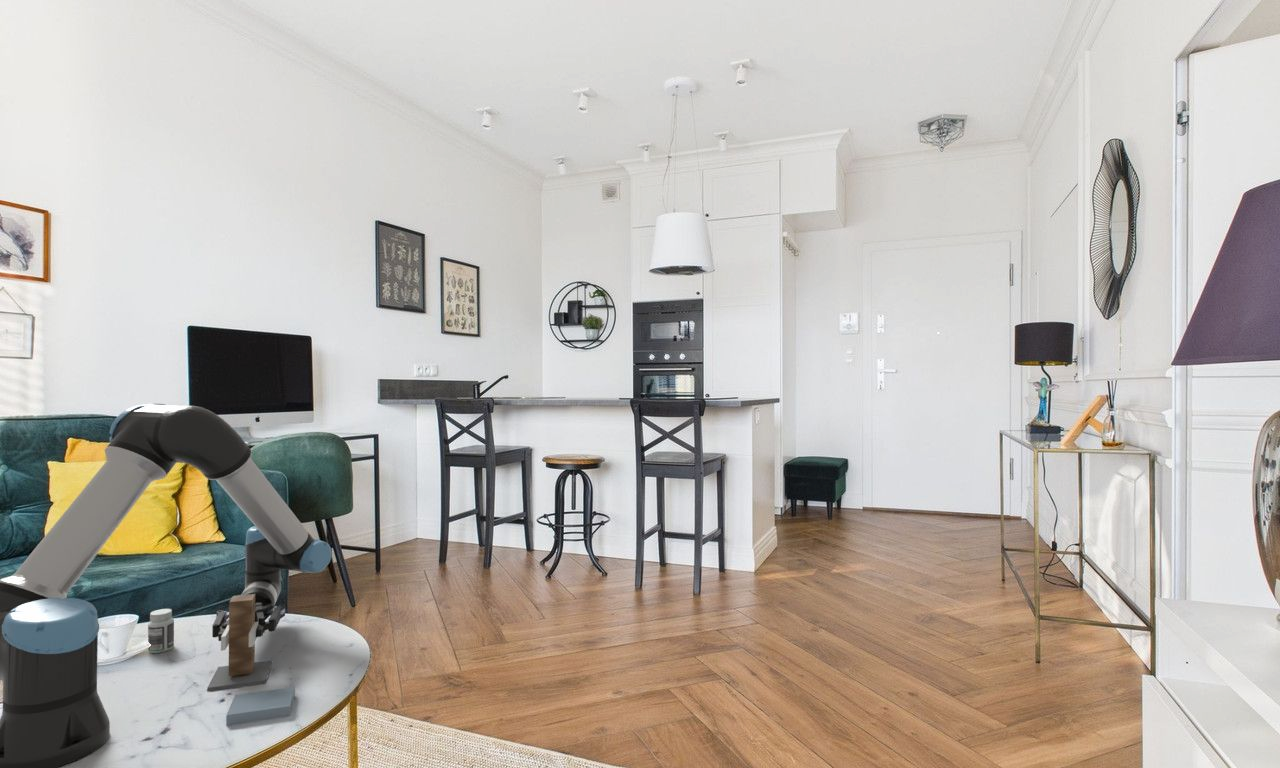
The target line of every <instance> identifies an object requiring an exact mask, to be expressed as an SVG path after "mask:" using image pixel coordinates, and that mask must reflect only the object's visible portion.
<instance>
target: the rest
mask: <svg viewBox="0 0 1280 768" xmlns="http://www.w3.org/2000/svg"><path fill="white" fill-rule="evenodd" d="M271 665H273V660H272V659H270V660H264V661H255V665H254V668H253V670H252V673H250V674H242V675H235V676H229V665H222V666H218V667H217V669H216V671H214V675H213V676H212V678H211V680H210V682H209V683H208V685H207V687H206V688H207V689H206V691H207V692H209V691H216V690H217V691H218V690H222V689H223V690H224V689H231V688H239V687H246V686H253V685H262V684H263V685H264V684H266V682H267V679H268V677H269V675H270V671H271V668H272V666H271Z"/></svg>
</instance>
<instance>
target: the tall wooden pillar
mask: <svg viewBox="0 0 1280 768" xmlns="http://www.w3.org/2000/svg"><path fill="white" fill-rule="evenodd" d="M228 604H229V605H228V607H229V608H228V612H229V618H228V620H229V644H228V666H229V676H235V675H242V674H250V673H252V670H253V668H254V665H255V662H256V661H255V659H256V658H255V652H256V651H255V650H256V649H255V648H256V645H255V644H256V642H255V643H254V645H253V647H249V632H250V630H251V628H252V626H253V624H254V622H255V594H248V595H241V594H237V595H233V596H232V597H231V598H230V600H229V603H228Z"/></svg>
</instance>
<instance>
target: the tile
mask: <svg viewBox="0 0 1280 768" xmlns="http://www.w3.org/2000/svg"><path fill="white" fill-rule="evenodd" d="M295 687H296V686H291V687H283V688H281V687H280V688H276V689H268V690H262V691H261V690H259V691H253V692H246V693H238V694H234V696H233V699H232V701H231V704H230V706H229V708H228V710H227V712H226V716H225V719H226V720H225V721H226V723H225V724H226V725H225V726H232V725H239V724H245V723H246V724H247V723H253V722H258V721H259V722H260V721H265V720H272V719H273V720H274V719H279V718H285V717H290V716H291V712H292V708H293V704H294V700H295V694H296V689H295Z"/></svg>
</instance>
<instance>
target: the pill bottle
mask: <svg viewBox="0 0 1280 768" xmlns="http://www.w3.org/2000/svg"><path fill="white" fill-rule="evenodd" d="M147 637H148V639H147V641H148V642H149V643H150V644H151V646H150V647H149V648H148V647H147V651H148V652H149V653H152V654H158V653H163V652H164V653H165V652H168V651H170V650H172V649H173V648H174V647H175V646H174V645H175V619H174V618H173V610H172V608H161V609H157V610H152V611H151V612H150V614H149V622H148V624H147Z"/></svg>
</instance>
